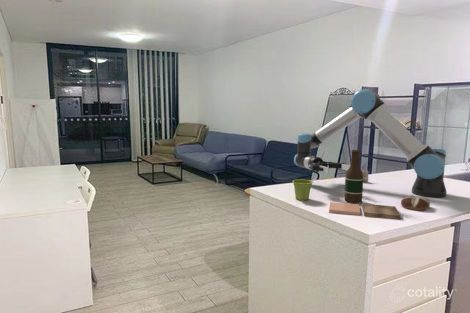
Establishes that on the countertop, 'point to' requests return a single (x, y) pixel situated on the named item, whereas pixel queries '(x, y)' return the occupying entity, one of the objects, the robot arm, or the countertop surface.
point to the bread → (415, 203)
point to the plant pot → (302, 188)
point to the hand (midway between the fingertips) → (339, 169)
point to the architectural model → (365, 175)
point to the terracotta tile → (344, 208)
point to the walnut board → (380, 211)
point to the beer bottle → (354, 180)
